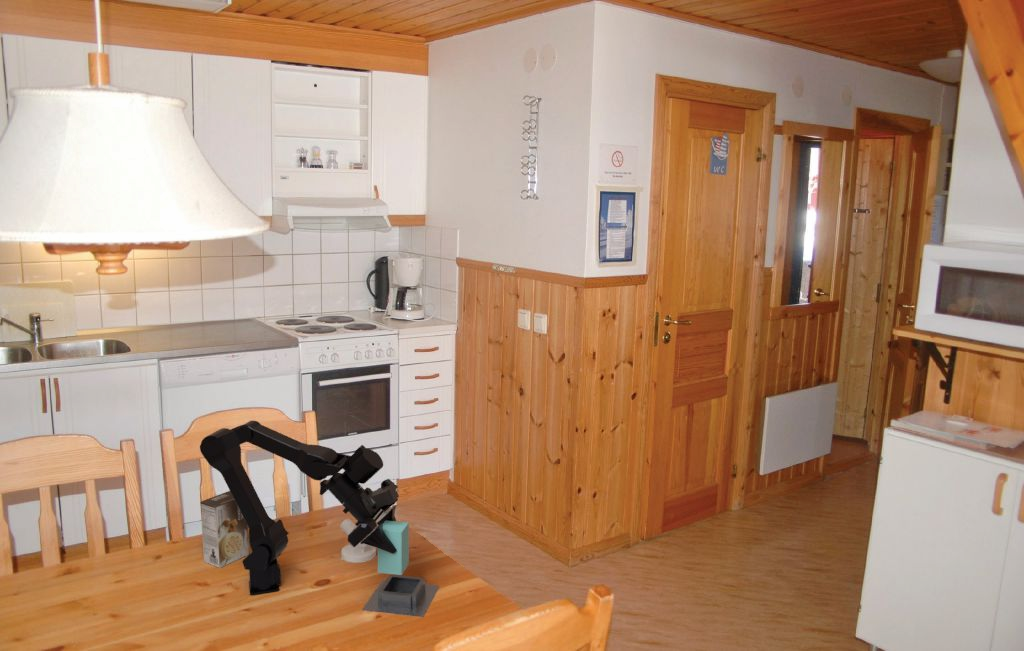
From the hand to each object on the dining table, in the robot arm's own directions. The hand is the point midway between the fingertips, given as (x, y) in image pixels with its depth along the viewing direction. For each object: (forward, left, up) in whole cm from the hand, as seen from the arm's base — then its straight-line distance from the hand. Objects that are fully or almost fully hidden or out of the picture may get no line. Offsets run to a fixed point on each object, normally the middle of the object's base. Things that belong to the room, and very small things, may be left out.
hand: (399, 546), depth 177 cm
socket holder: (0, 0, -13) cm, 13 cm away
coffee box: (-37, +35, -14) cm, 52 cm away
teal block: (-1, +1, -5) cm, 6 cm away
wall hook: (-6, +25, -14) cm, 29 cm away
